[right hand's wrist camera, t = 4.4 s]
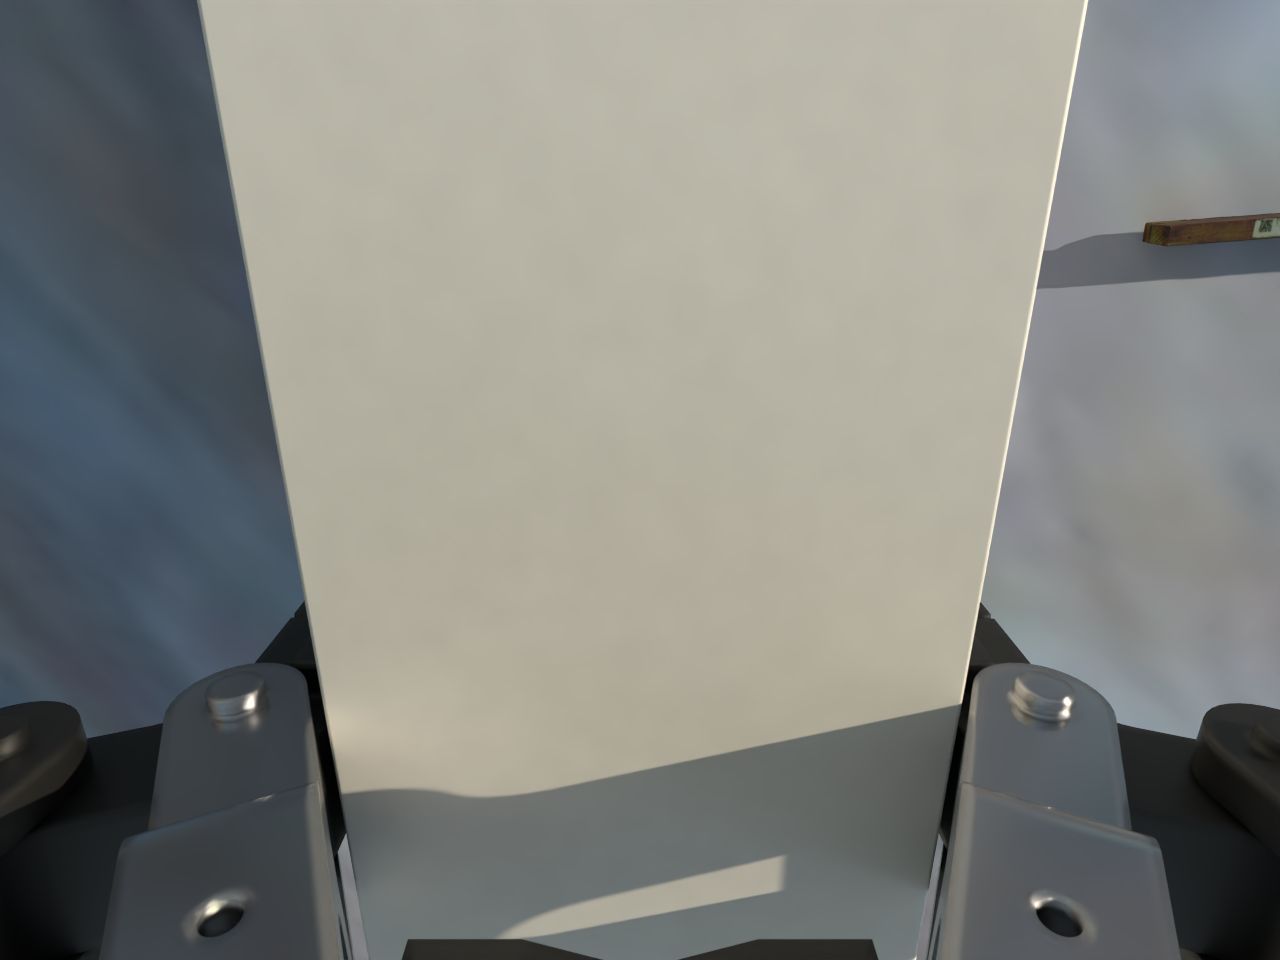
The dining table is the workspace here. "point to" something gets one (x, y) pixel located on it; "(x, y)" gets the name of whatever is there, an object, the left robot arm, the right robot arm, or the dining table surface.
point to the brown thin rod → (1213, 230)
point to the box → (642, 436)
